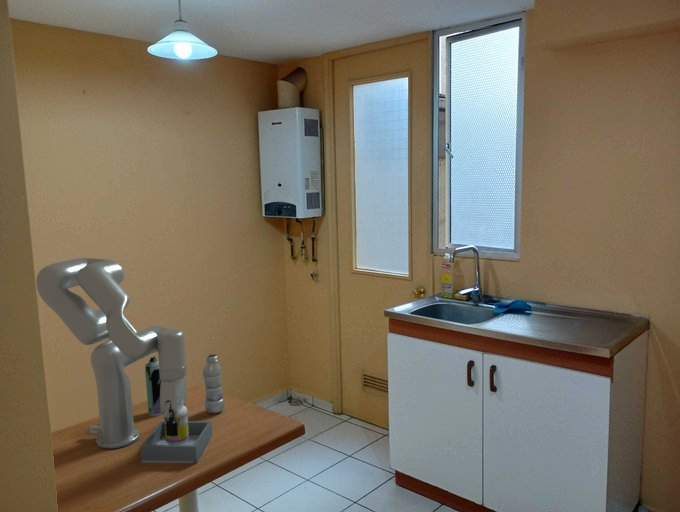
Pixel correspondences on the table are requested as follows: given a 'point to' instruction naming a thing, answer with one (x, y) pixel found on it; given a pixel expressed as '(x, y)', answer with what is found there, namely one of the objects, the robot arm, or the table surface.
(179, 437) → the supplement bottle
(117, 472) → the table surface
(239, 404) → the table surface
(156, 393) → the spray can
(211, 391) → the plastic bottle
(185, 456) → the box
